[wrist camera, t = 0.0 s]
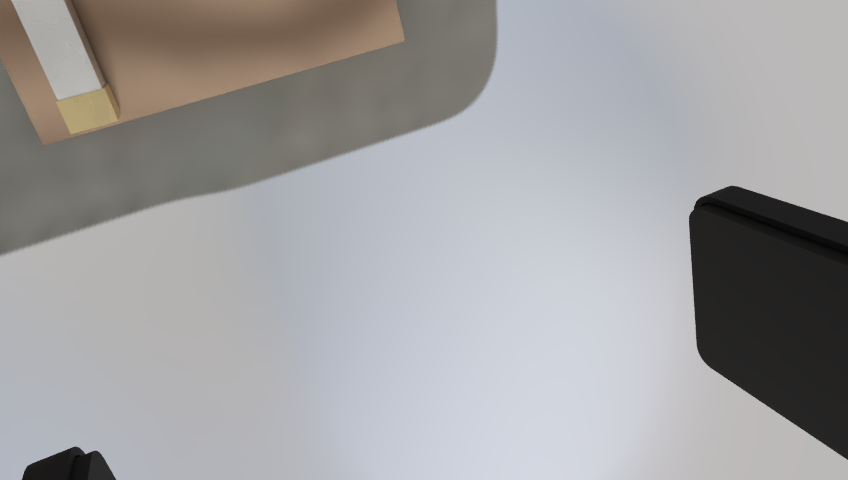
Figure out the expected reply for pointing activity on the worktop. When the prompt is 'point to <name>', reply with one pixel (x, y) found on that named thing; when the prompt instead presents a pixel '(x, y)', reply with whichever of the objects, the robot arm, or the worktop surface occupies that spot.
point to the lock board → (194, 49)
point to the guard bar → (68, 63)
